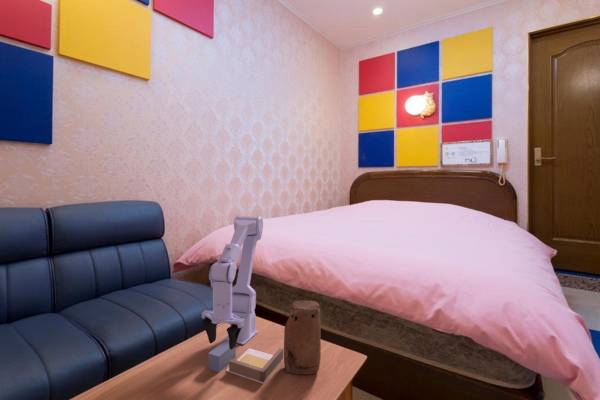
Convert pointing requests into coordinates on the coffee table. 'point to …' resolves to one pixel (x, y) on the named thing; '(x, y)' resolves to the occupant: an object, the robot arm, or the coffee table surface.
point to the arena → (255, 364)
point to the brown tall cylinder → (303, 338)
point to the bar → (221, 356)
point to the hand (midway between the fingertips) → (222, 344)
